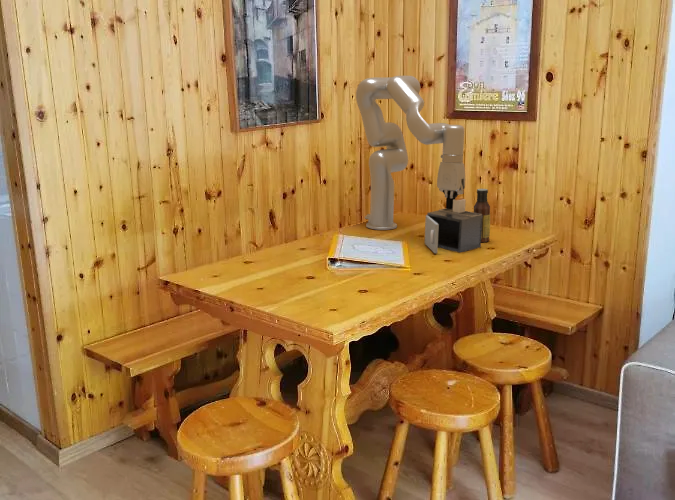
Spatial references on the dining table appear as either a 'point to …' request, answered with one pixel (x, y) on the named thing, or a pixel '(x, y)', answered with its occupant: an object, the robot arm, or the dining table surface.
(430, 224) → the door
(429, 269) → the dining table surface
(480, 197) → the sauce bottle
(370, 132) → the robot arm
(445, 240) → the dark grey box
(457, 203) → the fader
